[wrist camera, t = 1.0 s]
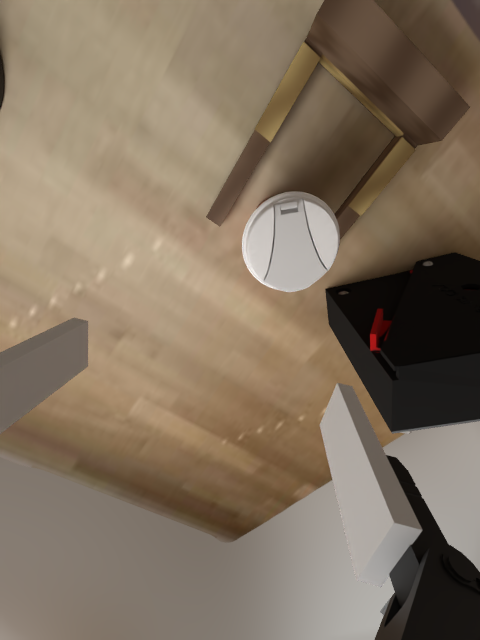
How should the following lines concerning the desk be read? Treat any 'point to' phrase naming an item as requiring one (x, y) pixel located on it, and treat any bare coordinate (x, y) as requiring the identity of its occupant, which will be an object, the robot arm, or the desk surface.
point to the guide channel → (359, 97)
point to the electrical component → (415, 341)
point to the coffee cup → (290, 241)
